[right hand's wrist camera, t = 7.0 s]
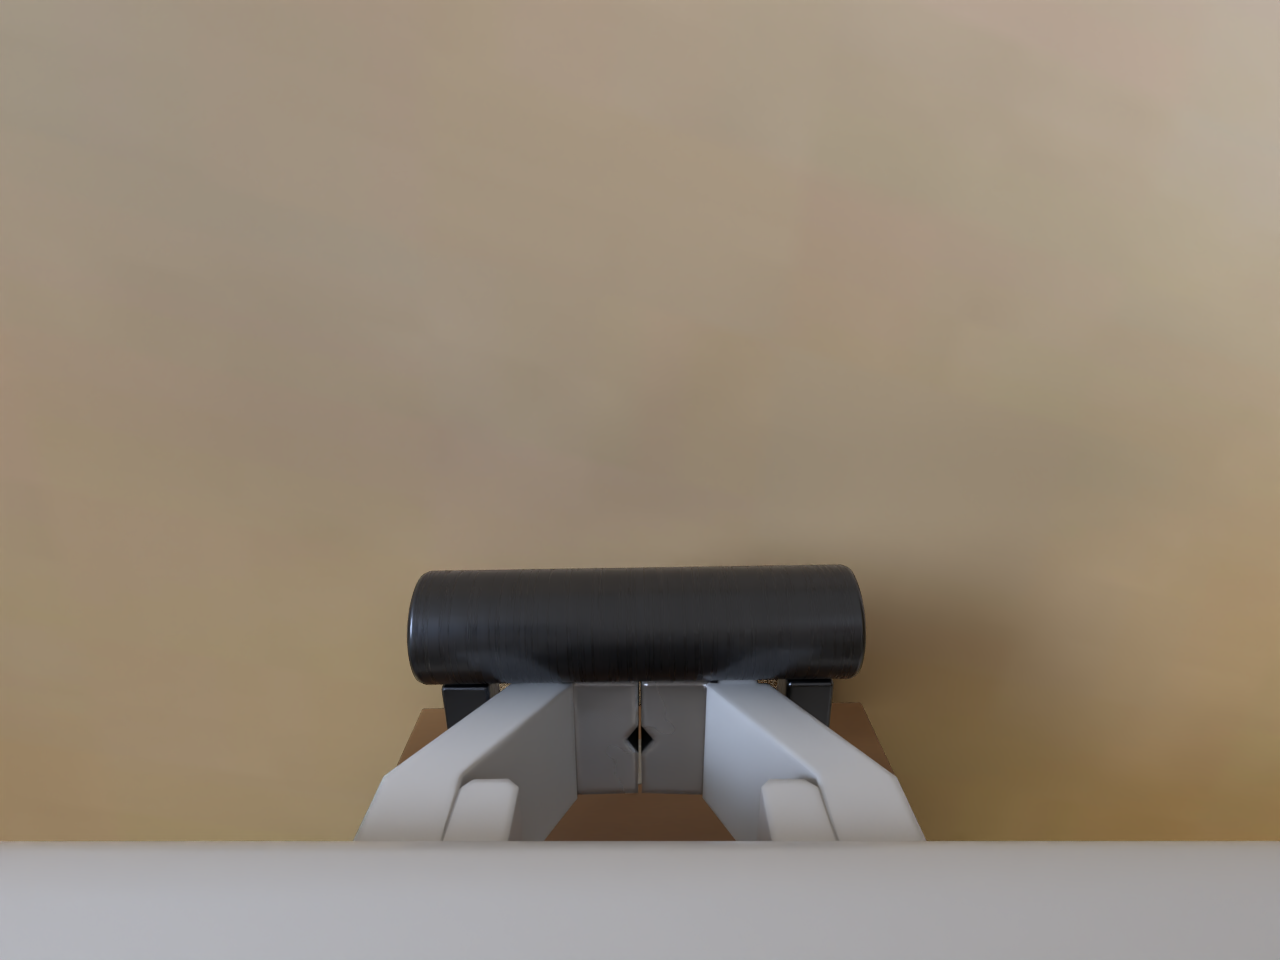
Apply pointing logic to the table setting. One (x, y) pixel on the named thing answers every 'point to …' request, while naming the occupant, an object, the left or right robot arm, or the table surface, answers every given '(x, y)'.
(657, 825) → the drawer
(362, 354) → the table surface
